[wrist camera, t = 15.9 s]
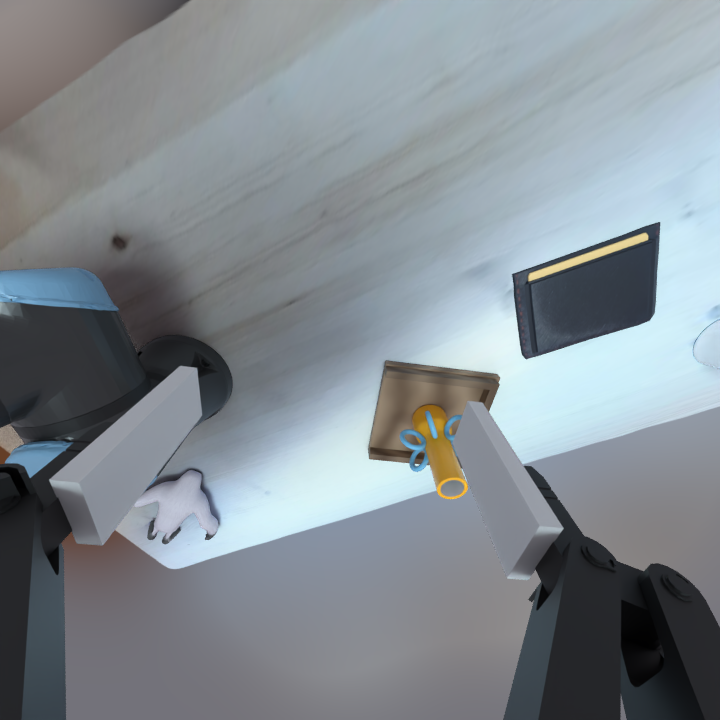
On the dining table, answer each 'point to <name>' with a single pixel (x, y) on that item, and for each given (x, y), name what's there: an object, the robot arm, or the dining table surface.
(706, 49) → the dining table surface
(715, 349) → the mug
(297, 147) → the dining table surface
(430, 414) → the cylinder
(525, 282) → the wallet
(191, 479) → the yeti figurine
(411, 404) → the open-sided tray
